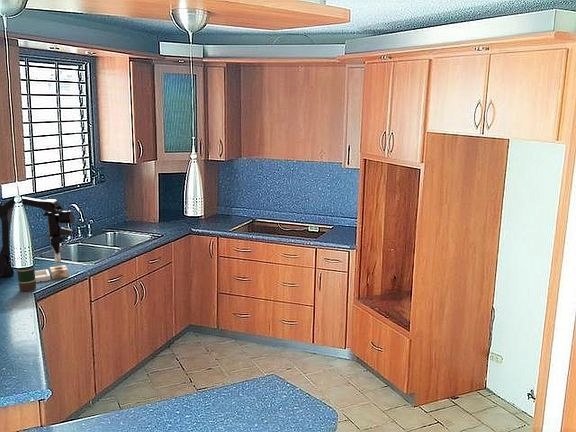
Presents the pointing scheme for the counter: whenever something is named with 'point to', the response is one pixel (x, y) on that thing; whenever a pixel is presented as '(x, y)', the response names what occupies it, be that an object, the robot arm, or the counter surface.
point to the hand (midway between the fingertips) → (57, 252)
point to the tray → (42, 275)
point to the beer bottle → (26, 279)
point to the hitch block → (59, 271)
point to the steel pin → (57, 255)
